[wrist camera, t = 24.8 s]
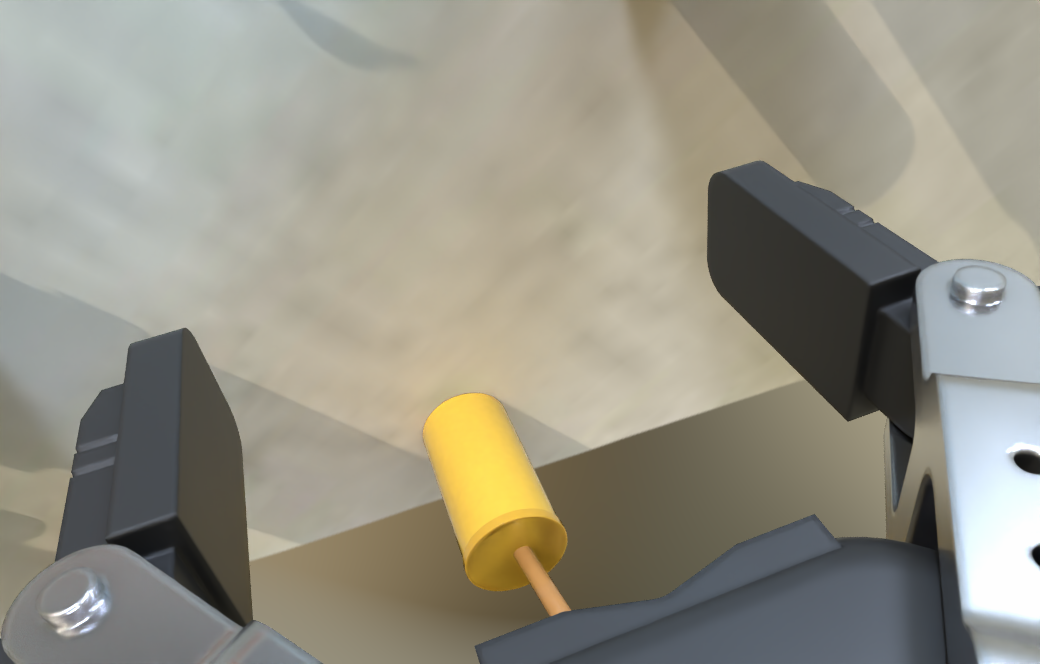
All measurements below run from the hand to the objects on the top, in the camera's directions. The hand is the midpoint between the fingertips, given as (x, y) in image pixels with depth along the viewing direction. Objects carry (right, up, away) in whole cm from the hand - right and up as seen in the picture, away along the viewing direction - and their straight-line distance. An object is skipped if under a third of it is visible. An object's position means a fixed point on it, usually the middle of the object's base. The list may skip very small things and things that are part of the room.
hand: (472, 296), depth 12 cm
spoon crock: (-3, -7, +40) cm, 41 cm away
